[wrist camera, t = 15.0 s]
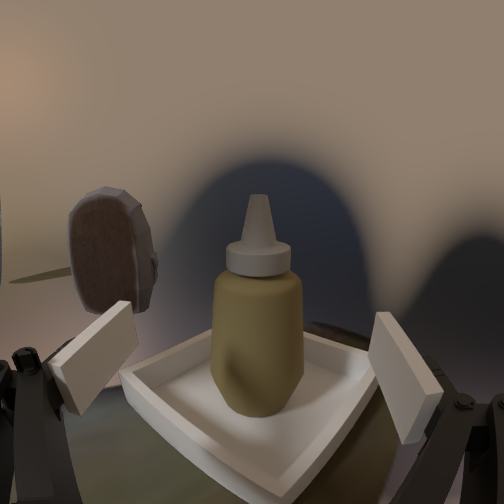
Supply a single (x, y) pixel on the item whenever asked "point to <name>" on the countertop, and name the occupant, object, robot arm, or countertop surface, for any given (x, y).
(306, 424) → the box
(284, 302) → the squeeze bottle
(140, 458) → the countertop surface
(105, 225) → the small grey backpack
